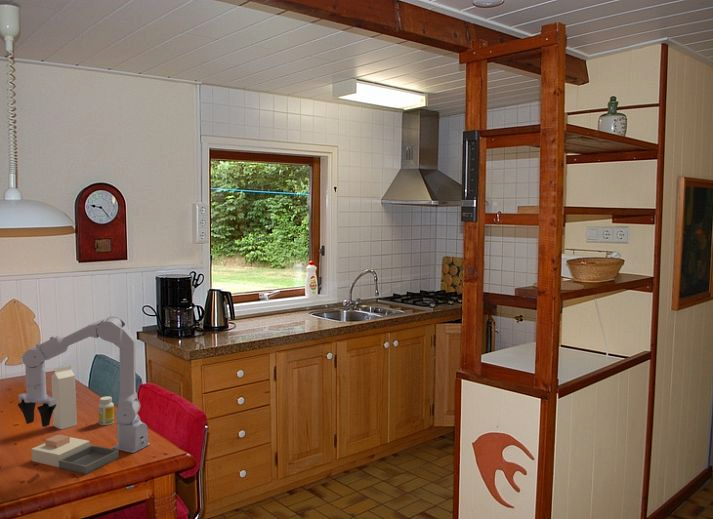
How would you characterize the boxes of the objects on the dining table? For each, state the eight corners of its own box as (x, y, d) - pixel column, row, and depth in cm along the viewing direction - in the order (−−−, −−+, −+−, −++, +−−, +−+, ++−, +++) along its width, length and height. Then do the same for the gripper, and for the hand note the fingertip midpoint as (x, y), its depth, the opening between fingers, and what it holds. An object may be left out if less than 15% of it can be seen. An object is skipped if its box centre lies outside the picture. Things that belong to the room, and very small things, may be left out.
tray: (118, 457, 195) (118, 450, 194) (86, 474, 183) (85, 466, 182) (92, 452, 199) (92, 445, 199) (59, 468, 187) (58, 460, 187)
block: (69, 442, 197) (69, 436, 197) (56, 448, 192) (56, 442, 192) (58, 440, 199) (58, 434, 199) (45, 445, 194) (45, 439, 194)
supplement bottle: (96, 425, 223) (95, 400, 222) (101, 420, 228) (100, 395, 227) (111, 425, 223) (111, 400, 223) (116, 420, 229) (115, 395, 228)
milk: (77, 425, 224) (75, 367, 222) (60, 430, 219) (58, 370, 217) (69, 421, 227) (67, 364, 225) (52, 425, 223) (50, 367, 221)
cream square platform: (90, 452, 199) (89, 441, 198) (59, 467, 188) (59, 454, 187) (63, 447, 203) (62, 435, 203) (32, 461, 192) (31, 448, 192)
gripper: (9, 384, 196) (11, 425, 197) (41, 389, 191) (43, 431, 192) (28, 378, 203) (30, 418, 204) (60, 383, 197) (62, 424, 198)
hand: (38, 424), depth 198 cm, fingers open, 7 cm apart
